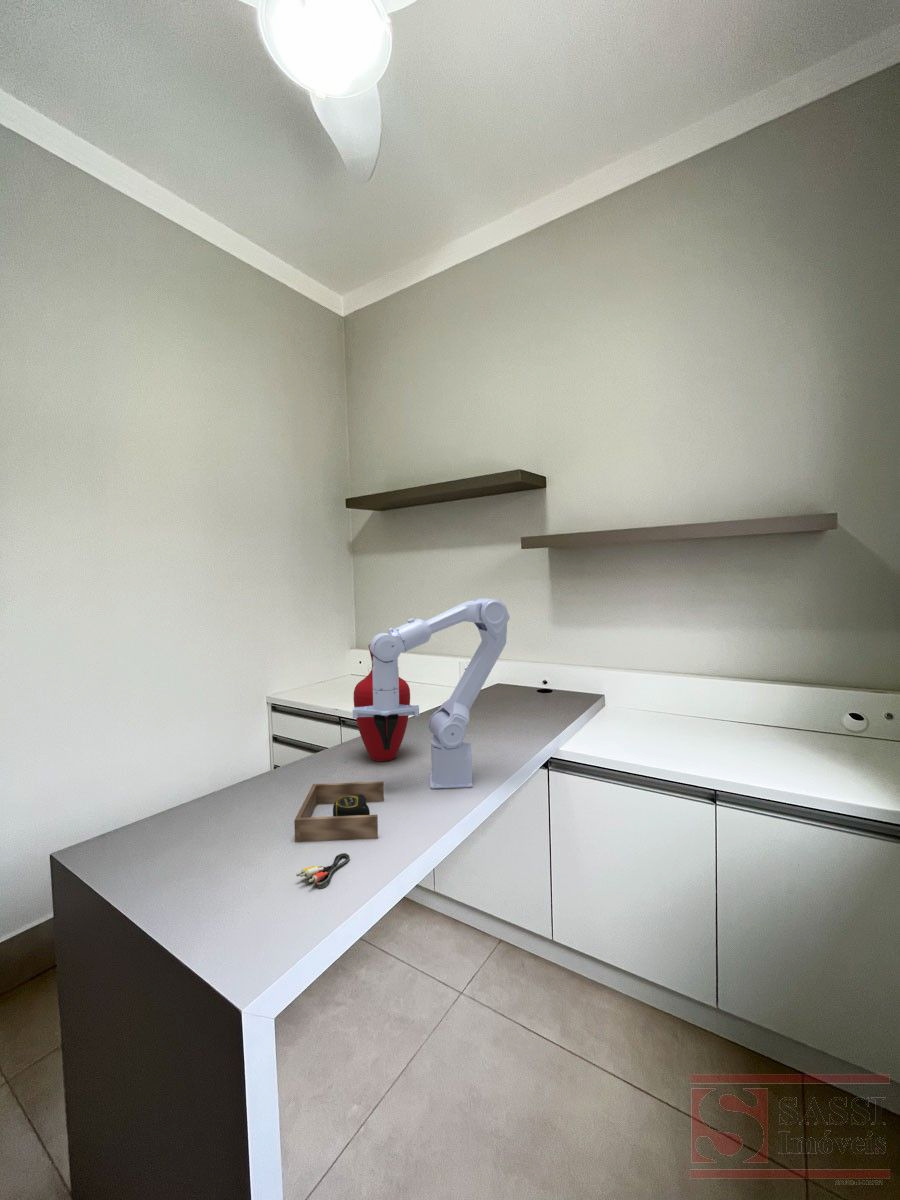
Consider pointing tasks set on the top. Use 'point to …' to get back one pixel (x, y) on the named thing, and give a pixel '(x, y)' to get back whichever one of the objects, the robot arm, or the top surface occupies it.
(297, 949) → the top surface
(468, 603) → the robot arm
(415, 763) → the top surface
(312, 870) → the composite cable
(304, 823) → the u-shaped wooden frame
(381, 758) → the vase
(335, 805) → the tape measure
